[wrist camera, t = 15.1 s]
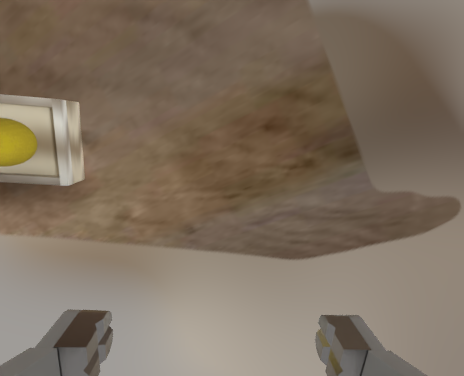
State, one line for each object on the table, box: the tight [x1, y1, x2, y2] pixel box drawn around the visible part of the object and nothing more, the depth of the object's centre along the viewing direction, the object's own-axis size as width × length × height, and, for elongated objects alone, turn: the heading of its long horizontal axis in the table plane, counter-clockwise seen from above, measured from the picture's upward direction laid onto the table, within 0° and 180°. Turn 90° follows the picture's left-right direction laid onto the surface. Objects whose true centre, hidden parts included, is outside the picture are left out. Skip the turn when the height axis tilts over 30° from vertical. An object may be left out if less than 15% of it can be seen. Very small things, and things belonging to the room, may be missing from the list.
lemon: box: [0, 118, 38, 167], centre depth 28 cm, size 6×6×8 cm
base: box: [0, 94, 85, 186], centre depth 33 cm, size 11×11×4 cm
